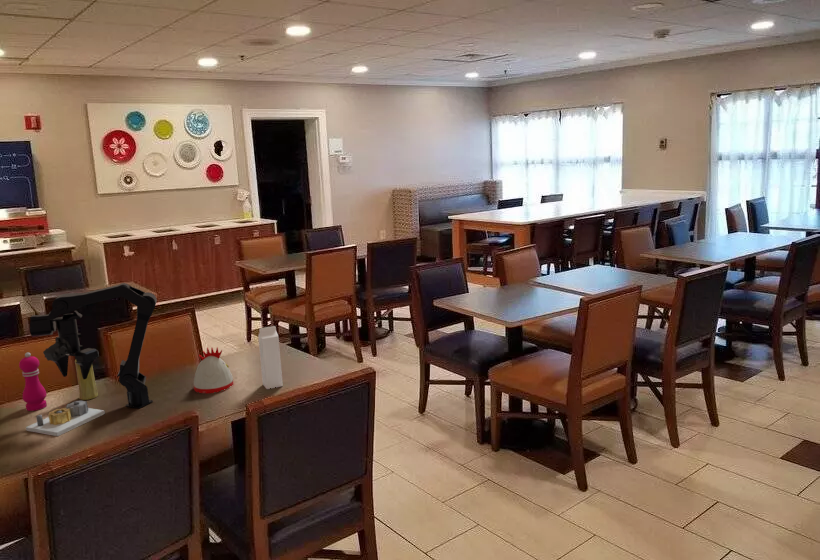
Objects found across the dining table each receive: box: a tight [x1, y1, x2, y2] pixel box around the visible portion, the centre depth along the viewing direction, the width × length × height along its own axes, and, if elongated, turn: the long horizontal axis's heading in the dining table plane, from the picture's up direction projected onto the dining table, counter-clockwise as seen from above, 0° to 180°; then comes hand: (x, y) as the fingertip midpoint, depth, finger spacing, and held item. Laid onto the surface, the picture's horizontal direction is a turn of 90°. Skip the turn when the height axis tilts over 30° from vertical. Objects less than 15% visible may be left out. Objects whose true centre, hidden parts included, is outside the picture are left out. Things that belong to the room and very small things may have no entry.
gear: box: [47, 407, 71, 425], centre depth 207 cm, size 6×6×3 cm
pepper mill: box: [18, 352, 48, 412], centre depth 221 cm, size 7×7×20 cm
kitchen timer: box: [193, 346, 234, 394], centre depth 235 cm, size 14×14×15 cm
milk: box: [257, 325, 284, 390], centre depth 232 cm, size 6×6×22 cm
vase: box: [74, 359, 99, 401], centre depth 230 cm, size 6×6×14 cm
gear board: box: [25, 400, 106, 437], centre depth 209 cm, size 14×18×5 cm
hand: (75, 377), depth 214 cm, fingers open, 9 cm apart
